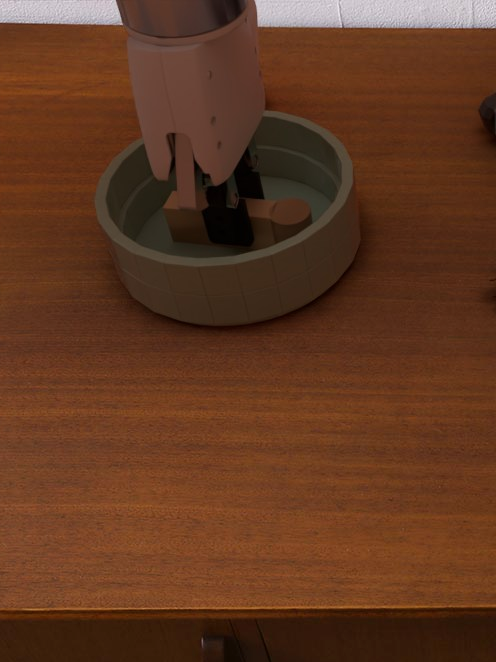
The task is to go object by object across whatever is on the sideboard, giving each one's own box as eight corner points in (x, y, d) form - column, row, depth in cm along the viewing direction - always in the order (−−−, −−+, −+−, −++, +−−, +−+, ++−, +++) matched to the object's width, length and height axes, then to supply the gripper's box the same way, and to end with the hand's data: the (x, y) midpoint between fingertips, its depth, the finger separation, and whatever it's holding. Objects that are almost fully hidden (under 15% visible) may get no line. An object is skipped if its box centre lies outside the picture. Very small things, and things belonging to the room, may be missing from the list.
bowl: (77, 316, 69) (49, 250, 65) (171, 163, 81) (153, 99, 77) (326, 343, 68) (314, 278, 63) (384, 184, 80) (378, 120, 75)
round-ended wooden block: (170, 246, 73) (159, 212, 71) (184, 220, 75) (175, 186, 73) (309, 260, 72) (303, 226, 70) (321, 233, 74) (315, 199, 72)
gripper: (170, -72, 66) (226, 159, 79) (61, 57, 55) (148, 299, 68) (281, -64, 65) (319, 167, 78) (194, 68, 54) (255, 311, 67)
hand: (239, 227), depth 73 cm, fingers closed
